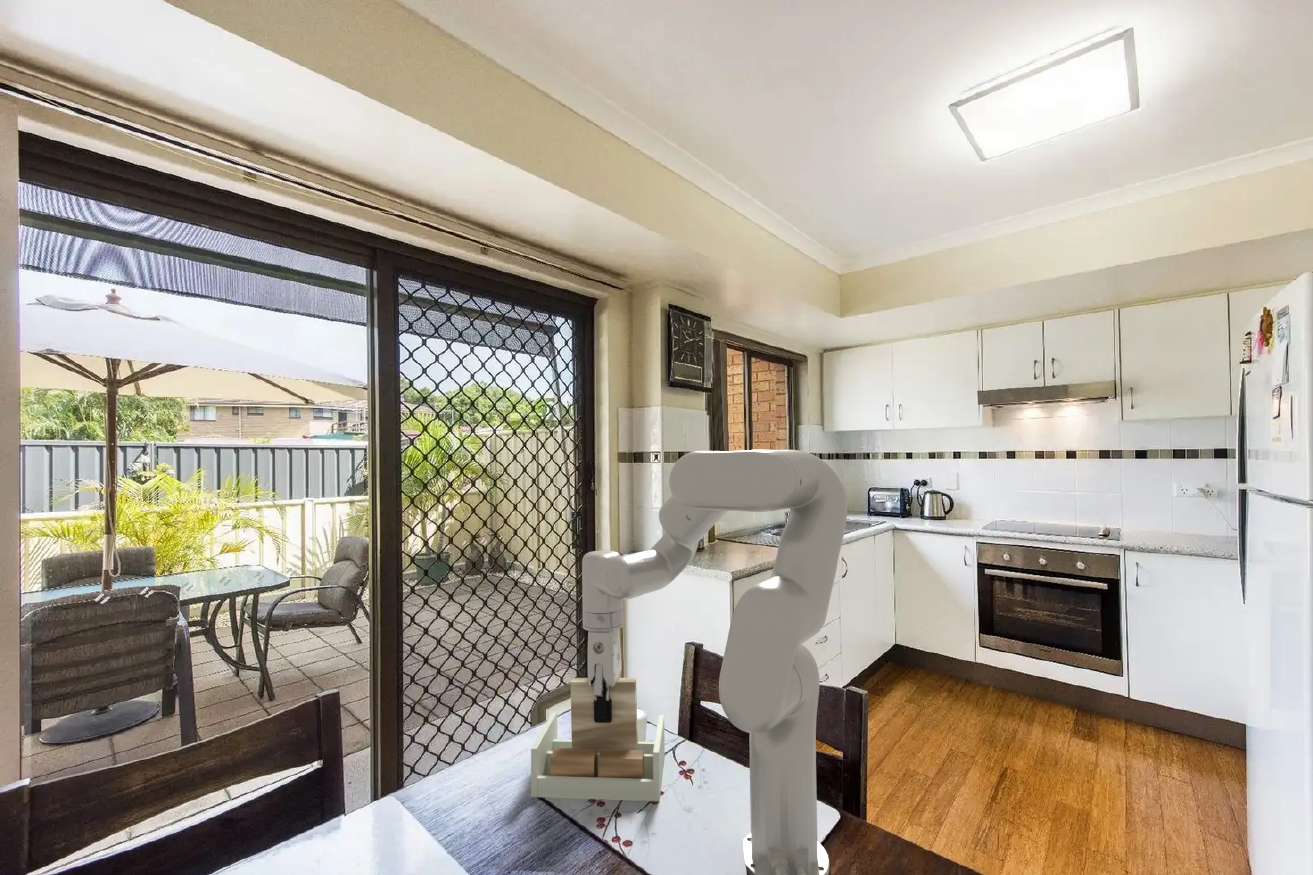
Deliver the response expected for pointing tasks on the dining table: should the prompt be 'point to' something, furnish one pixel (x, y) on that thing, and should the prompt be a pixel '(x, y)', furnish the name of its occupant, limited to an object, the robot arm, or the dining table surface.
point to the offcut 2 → (621, 764)
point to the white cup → (641, 724)
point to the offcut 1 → (574, 762)
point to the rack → (597, 786)
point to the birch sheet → (604, 735)
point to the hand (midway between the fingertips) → (604, 717)
